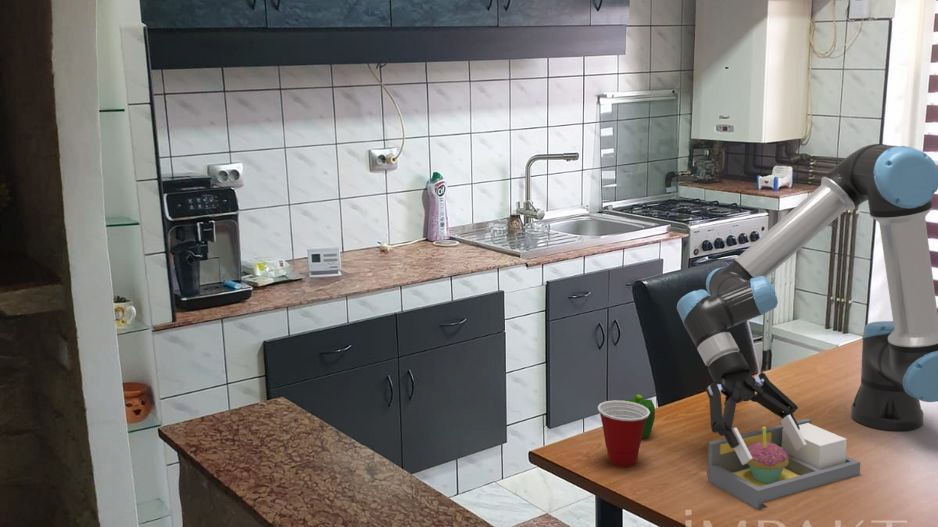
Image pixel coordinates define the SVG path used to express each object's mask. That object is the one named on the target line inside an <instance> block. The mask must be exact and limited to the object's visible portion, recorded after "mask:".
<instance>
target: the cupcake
mask: <svg viewBox="0 0 938 527" xmlns="http://www.w3.org/2000/svg"><path fill="white" fill-rule="evenodd" d="M766 428H767V427H766V426H765V423H763V426H762V429H763V442H758V443H754V444H752V445H749V446H748V447H747V448H748V450H749V452H750V454H751V456H752V458H753V459H751V460H750V461H749V462H748V463H747V464H748V465H749V466H750V469H751V472H752V475H753V478H754V479H755V480H756V481H758V482H761V483H768V484H770V483H775V482H777V481H778V480H779V477H780V475H781V472H782V470H783V469H784V467H786V466H787V465H788V463H789V456H788V453H787V452H786V451H785V449H783V448H782V447H780V446H778V445H777V444H773V443H772V442H768V441H767V442H766Z"/></svg>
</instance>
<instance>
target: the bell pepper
mask: <svg viewBox="0 0 938 527" xmlns="http://www.w3.org/2000/svg"><path fill="white" fill-rule="evenodd" d="M620 401H629V402H634V403H637V404H640V405H643V406H644V407H646V408H648V409H649V411H650V414H649V416H648V417H647V419H646V421H645V425H644V428H643V433H642V439H645V438H648V436H649V435H650V433H651V432H652V430H653V427H654V423H655V418H656V406H655V404H654V403H653V402H654V401H653V400H652V399H644V398H643V396H642V395H641V394H636V395H635V397H631V399H629V398H628V399H627V398H622V399H621V400H620Z"/></svg>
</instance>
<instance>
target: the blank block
mask: <svg viewBox="0 0 938 527" xmlns="http://www.w3.org/2000/svg"><path fill="white" fill-rule="evenodd" d="M799 427H800V430H799V431H800V433H801V435H802V436H803V438H804V440H805V442H806V443H807V445H805V446H804V447H803V448H801V449H800V450H798V451H796V449H795V448H794V446H793V444H792V442H791V440H790V439H789V437H788V435H787V433H786V431H785V430H784V429H782V448H783V449H785V451H786V452H787V453H788V455H790V456H792V457H794V458H796V459H799V460H801V461H803V462H805V463H807V464H809V465H811V466H813V467H815V468H818V469H820V470H822V469H825V468H829V467H833V466H836V465H840V464H843V463H846V456H847V444H848V443H847V442H848V441H847V440H848V439H847V438H846V437H843V436H842V435H841V436H840V435H838V434H836V433H834V432H831V431H829V430H826V429H824V428H821V427H819V426H816V425H815V424H812V423H811V424H810V423H806V424H801V425H799Z"/></svg>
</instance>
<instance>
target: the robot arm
mask: <svg viewBox="0 0 938 527" xmlns="http://www.w3.org/2000/svg"><path fill="white" fill-rule="evenodd" d="M937 191H938V166H937V164H936V163H935V161H934V160H933V158H932V157H930V156H929V154H927V153H926V152H924V151H922V150H919V149H916V148H913V147H910V146H905V145H890V144H884V143H883V144H882V143H874V144H873V143H872V144H868V145H866V146H863V147H860V148H858V149H857V150H855V151H854V152H852V153H851V154H849V155H847V157H845V158H844V159H842V160H841V161H840V162H839V163H838V164H836V166H835V167H833V168H832V169H831V170H830V171H829V172H828V173H826V174H825V175H824V176H823V177H822V178H821V182H820V186H818V187H817V188H816V189H815V190H814V191H812V192H811V193H810V194H809V195H808V196H807V197H806V198H804V199H803V200H802V201H801V202H800V203H798V204H797V205H796V206H795V207H794V208H793V209H792V210H791V211H790V212H788V213H787V214H786V215H785V216H784V217H783V218H782V219H780V220H779V221H778V222H776V223H775V224H774V225H773V226H772V227H770V228H769V229H768V230H767V231H766V232H765V233H763V235H762V236H760V237H759V238H758V239H757V240H755V242H754V243H752V244H751V245H750V246H749V247H748V248H746V249H745V250H744V251H743V252H742V253H741V254H740V255H738V256H737V257H736V258H735V259H734V260H732V261H731V262H730V263H729V264H728V265H726V266H725V267H718V268H715V269H714V270H712V271H711V272H709V274H708V275H707V277H706V279H705V280H706V281H705V287H706V290H705V289H698V290H693V291H691V292H688V293H687V294H685V295H684V296H682V297H680V299H679V300H678V302H677V305H676V310H677V312H678V315H679V317H680V319H681V321H682V323H683V326H684V328H685V330H686V331H687V333H688V335H689V337H690V339H691V340H692V342H693V344H694V346H695V348H696V349H697V352H698V353H699V355H700V357H701V359H702V361H703V363H704V365H705V366H706V367H708V368H707V371H708V372H709V374H710V376H711V378H712V380H713V382H712V383H711V384H710V385H708V386H707V388H706V389H705V392H706V394H707V396H708V398H709V399H708V400H709V401H708V402H709V412H710V413H709V415H710V428H711V431H712V433H714V434H716V433H718V435H719V436H720V437H723V436H724V438H726V440H727V441H728V443H729V446H730V447H731V448H734V450H735V452H736V454H737V456H738V457H739V459H740V461H741V463H742V465H744V464H746V463H748V462H749V461H750V460H751V459H753V458H752V456H751V454H750V452H749V450H748V448H747V446H746V444H745V443H744V441H743V439H742V437H741V435H740V434H741V433H740V431H739V430H738V428H737V427H733V425H734V419H735V417H734V416H735V413H736V408H737V404H741V403H742V402H749V401H751V402H753V403H757V404H759V405H760V406H762V407H764V408H765V409H767V410H768V411H769V412H771V413H773V414H774V415H776V416H777V417H778V418H780V419H781V420H780V421H779V423H780V425H782V426H783V428H784V430H785V431H786V433H787V435H788V437H789V439H790V440H791V442H792V444H793V446H794V448H795V449H796V451H798V450H800V449H801V448H803V447H804V446H805V445H807V443H806V442H805V440H804V438H803V436H802V435H801V433H800V431H799V430H800V427H799V425H798V423H797V422H796V421H797V420H796V418H795V417H794V416H795V415H794V413H796V411H797V410H798V409H799V407H798V405H797V404H796V403H795V402H794V401H792V399H790V398H789V396H787V395H786V394H785V393H784V392H783V391H781V389H780V388H778V387H777V386H776V385H775V384H774V383H773V382H771V381H770V379H769V377H768V376H767V375H766V373H764V372H760V373H759V374H758V375H756V376H753V375H752V374H751V373H750V367H749V364H748V362H747V361H746V358H745V357H744V354H742V352H740V348H739V346H738V344H737V342H736V340H735V339H734V337H733V336H732V334H731V332H730V330H729V329H731V328H733V327H735V326H738V325H740V324H742V323H745V322H747V321H749V320H752V319H754V318H757V317H760V316H763V315H765V314H766V313H768V312H771V311H772V310H774V309H776V308H777V306H778V304H779V300H778V297H777V293H776V290H775V288H774V286H773V285H772V283H771V281H770V280H769V279H768V276H770V275H771V274H773V273H774V271H776V270H777V269H778V268H780V266H781V265H783V264H784V263H785V262H787V261H788V260H789V259H790V258H792V256H794V255H795V254H796V253H797V252H798V251H800V249H801V248H803V247H804V246H805V245H806V244H808V243H809V242H810V241H812V239H813V238H815V237H816V236H817V235H818V234H820V232H822V231H823V230H824V229H825V228H827V227H828V226H829V225H830V224H831V223H833V221H834V220H836V219H838V217H840V216H841V215H842V214H843V213H844V212H845V211H854V210H855V209H856V208H857V207H859V206H861V204H863V203H865V202H866V201H868V202H867V203H868V208H869V215H870V218H872V219H873V220H875V221H877V222H878V223H879V230H880V231H879V232H880V238H881V243H882V244H881V245H882V250H883V258H884V266H885V273H886V274H885V275H886V279H887V280H886V281H887V288H888V294H889V301H890V308H891V315H892V320H884V321H883V320H882V321H881V320H880V321H873V322H869V323H867V324H865V326H864V328H863V334H862V337H861V340H862V344H861V345H862V348H861V349H862V350H861V368H860V369H861V372H860V373H861V374H860V386H859V387H858V390H857V392H856V395H855V397H854V400H853V402H852V404H851V407H850V408H851V409H850V416H851V418H852V420H854V421H855V422H857V423H859V424H861V425H864V426H865V427H869V428H873V429H876V430H877V429H878V430H883V431H892V432H893V431H894V432H895V431H896V432H899V431H900V432H901V431H902V432H903V431H904V432H905V431H910V430H911V431H912V430H916V429H919V428H921V427H922V426H923V424H924V411H923V409H922V408H921V407H922V406H921V402H925V403H936V402H938V306H937V299H936V292H935V284H934V277H933V268H932V267H933V266H932V261H931V253H930V245H929V238H928V229H927V222H926V216H928V214H929V213H930V212H931V211H932V210H933V202H932V198H934V195H935V193H936V192H937ZM722 395H723V396H725V399H724V403H723V404H724V409H723V405H722ZM920 401H921V402H920Z"/></svg>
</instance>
